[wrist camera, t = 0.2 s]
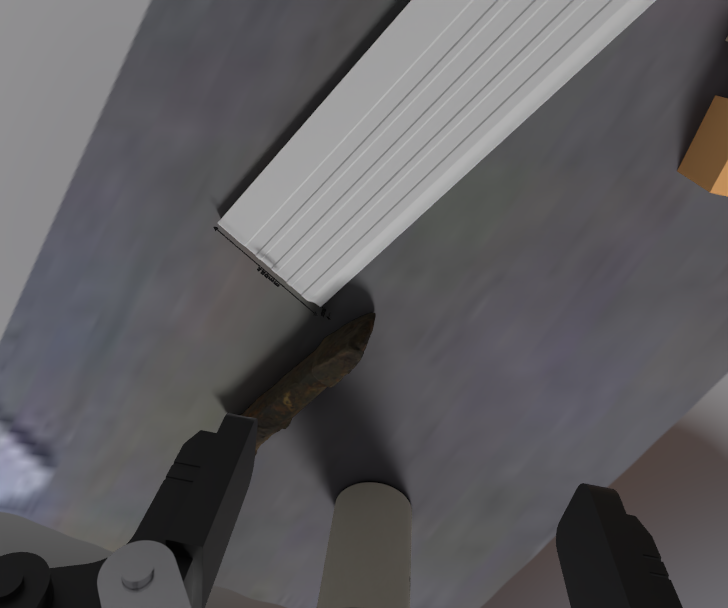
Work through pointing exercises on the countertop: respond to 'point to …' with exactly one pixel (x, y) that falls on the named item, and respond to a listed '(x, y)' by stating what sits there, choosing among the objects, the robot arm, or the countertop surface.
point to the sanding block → (710, 150)
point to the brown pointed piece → (311, 377)
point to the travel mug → (368, 550)
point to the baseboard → (411, 128)
